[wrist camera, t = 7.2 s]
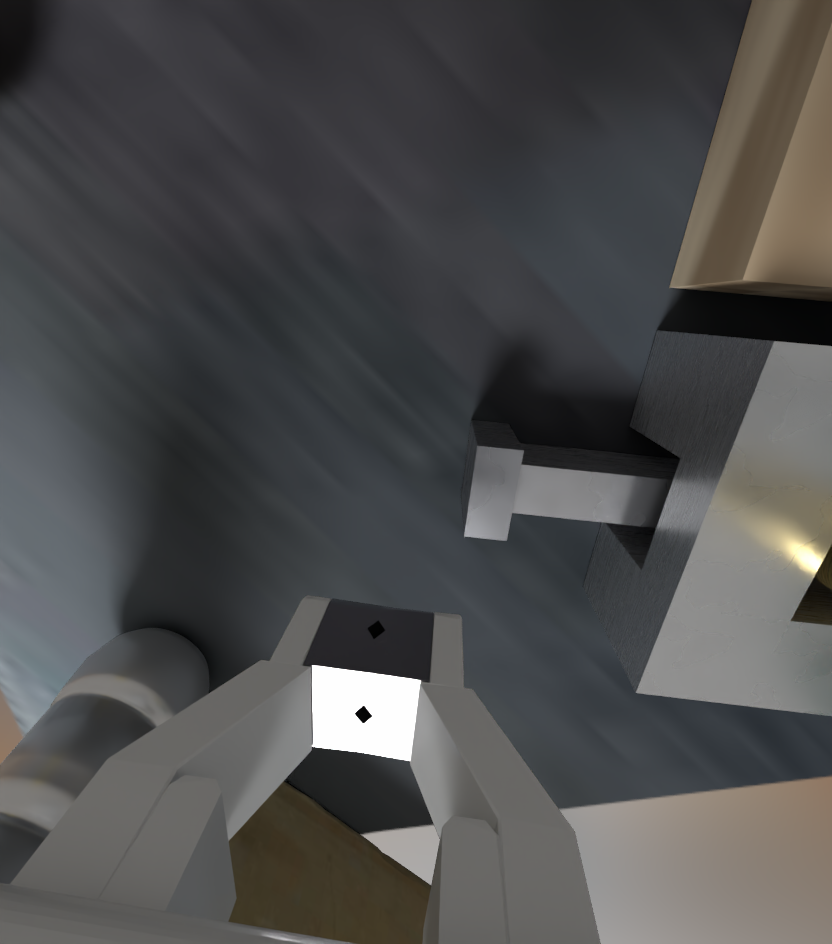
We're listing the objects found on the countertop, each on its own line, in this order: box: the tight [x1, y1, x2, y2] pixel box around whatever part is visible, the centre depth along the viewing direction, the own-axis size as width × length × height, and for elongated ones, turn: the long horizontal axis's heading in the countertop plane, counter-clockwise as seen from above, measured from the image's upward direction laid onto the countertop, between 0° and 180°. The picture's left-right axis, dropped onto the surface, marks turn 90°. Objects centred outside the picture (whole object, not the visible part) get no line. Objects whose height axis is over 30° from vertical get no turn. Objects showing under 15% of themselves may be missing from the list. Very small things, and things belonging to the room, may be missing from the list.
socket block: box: [583, 330, 832, 716], centre depth 15 cm, size 12×12×6 cm
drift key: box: [461, 420, 680, 541], centre depth 16 cm, size 10×4×4 cm, turn 85°
